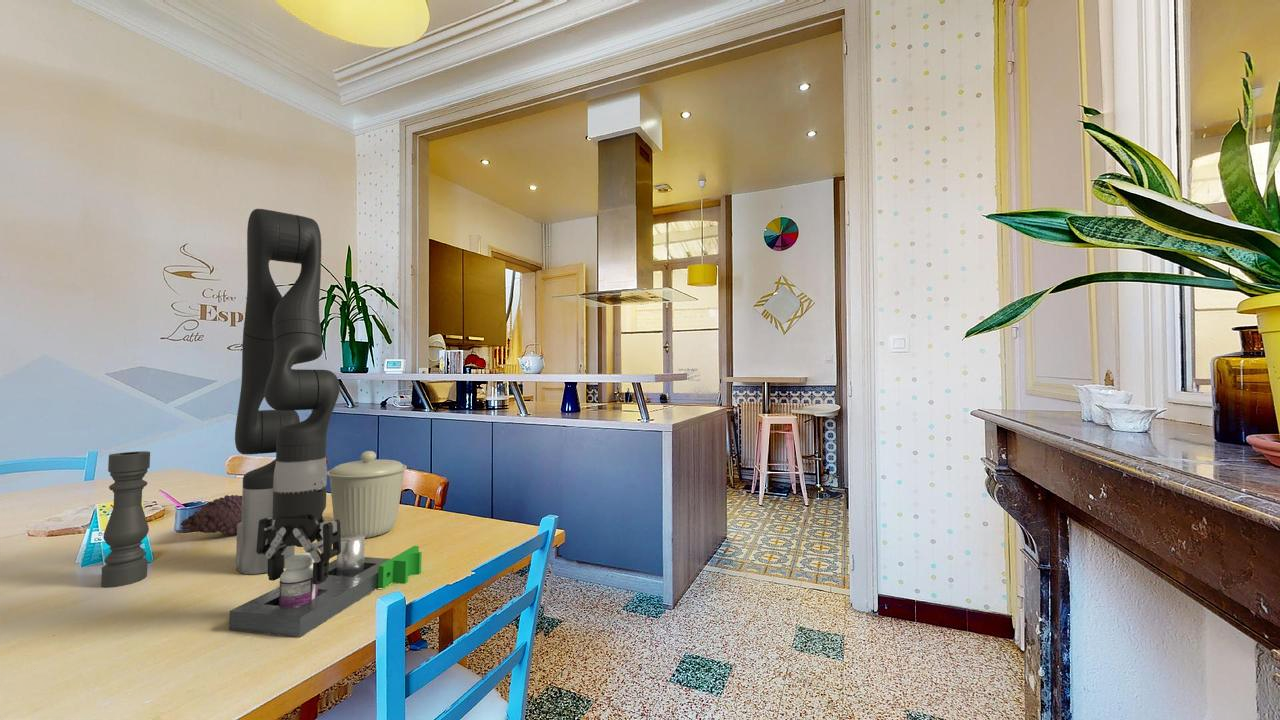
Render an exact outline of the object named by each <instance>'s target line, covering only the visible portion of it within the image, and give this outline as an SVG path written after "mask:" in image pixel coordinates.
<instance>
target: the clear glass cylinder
mask: <svg viewBox="0 0 1280 720" xmlns="http://www.w3.org/2000/svg"><path fill="white" fill-rule="evenodd" d="M365 540H366V538H365V535H363V534H352V535H346V536H343V537H341V553H340V554H338V555H336V559H337V574H336V576H346V577H354V576H356V575H357V574H359V573H361V572H363V571H364V557H365V546H366V543H365Z"/></svg>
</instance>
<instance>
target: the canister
mask: <svg viewBox="0 0 1280 720" xmlns="http://www.w3.org/2000/svg"><path fill="white" fill-rule="evenodd" d="M406 470H407V465H406V464H403V463H402V462H400V461H398V460H396V459H395V460H393V459H377V454H376V452H374V451H373V450H367V451H363V452H362V453H361V455H360V460H356V461H348V462H344V463H340V464H338V465H336V466H334V467H333V468H332V469H329V470H327V477H329V485H330V495H331V504H332V514H333V520H336V519H338V520H339V521H340V530H341V537H343V536H346V535H352V534H363V535H365V539H367V538H374V537H377V535H378V536H381V535H383V534H386V533H387V532H390V531H392V529H393V528H394V527H395V524H396V522H397V519H398V515H399V508H400V501H401V496H402V488H403V487H402V486H403V480H404V471H406Z"/></svg>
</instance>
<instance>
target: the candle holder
mask: <svg viewBox="0 0 1280 720" xmlns="http://www.w3.org/2000/svg"><path fill="white" fill-rule="evenodd" d="M107 465H108V466H107V471H108V472H109V476H110V477H111V478H112V480H113V481H114V483H112V484H110V485H109V486H108V489H109V490H110V491H112V493H113V504H112V505H113V507H112V510H111V513H110V516H109V519H108V521H107V524H106V527H105V529H104V533H103V541H104V542H105V544H107V546H109V550H110V551H111V552H110V553H109V554H107V556H106V557H105V558H103V559H104V560H103V562H104V563H105V565H104V566H102V567H101V578H100V580H101V582H100V586H101V587H102V588H116V587H117V588H118V587H123V586H127V585H131V584H134V583H138V582H140V581H142V580H144V579H147V577H148V561H149V560H148V558H146V557H145V556H146V555H147V552H146V550H145V549H143V548H142V547H141V545H142V544H143V540H144V539H145V538H146V537H147V536H148V533H149V531H150V530H149V524H148V522H147V517H146V514H145V511H144V507H143V505H142V504H143V501H142V500H143V489H144V488H145V487H147V485H148V481H146V480H144V479H143V478H145V477H146V476H145V475H146V474H148V469H150V465H151V451H147V450H145V451H138V450H137V451H127V452H117V453H110V454H108V463H107Z"/></svg>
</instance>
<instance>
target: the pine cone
mask: <svg viewBox="0 0 1280 720" xmlns="http://www.w3.org/2000/svg"><path fill="white" fill-rule="evenodd" d="M240 522H242V495H239V494H237V495H236V494H235V495H234V494H231V495H228V494H226V495H224V497H220V498H215V499H213V501H211V500H210V501H209V502H207V504H205V505H203V507H202V508H201V509H200V510H196V511H194V514H192V515H188V517H187V518H186V519H184V520H182V522H181V523H180V526H181V527H180V528H181V530H182V531H184V530H185V531H187V530H189V531H190V532H196V533H199V532H200V533H204V534H207V533H208V534H215V533H218V532H219V533H221V534H222V535H224V536H228V535H231V536H232V535H235V534H237V525H238V524H239V523H240Z"/></svg>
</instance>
